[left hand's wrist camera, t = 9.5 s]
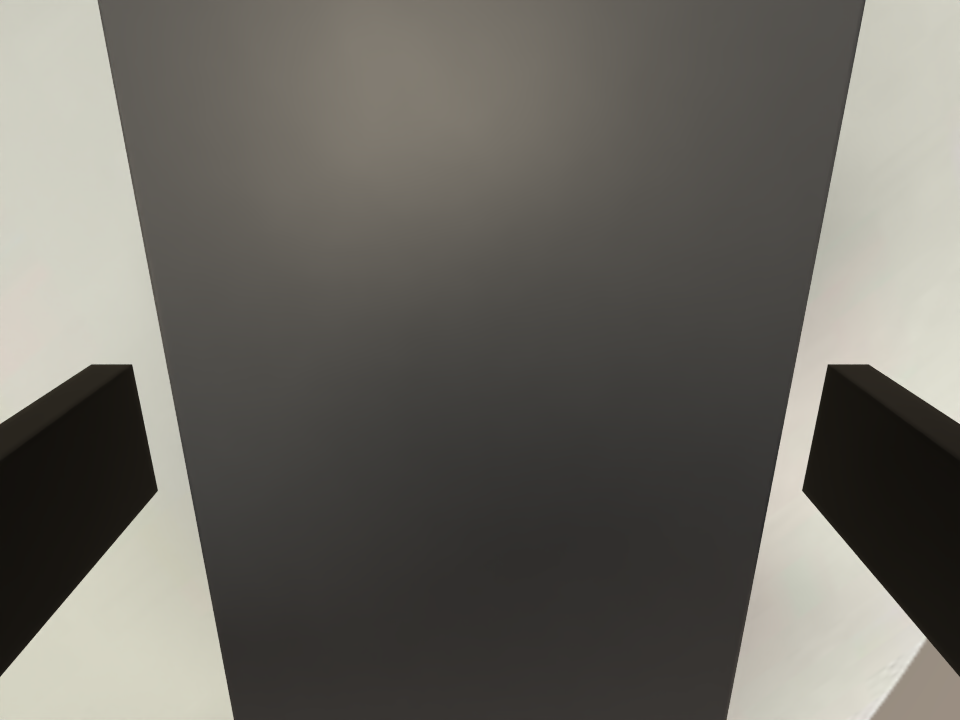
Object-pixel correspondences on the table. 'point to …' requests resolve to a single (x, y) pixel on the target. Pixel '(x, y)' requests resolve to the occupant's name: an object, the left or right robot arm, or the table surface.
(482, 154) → the bar
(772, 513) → the table surface
